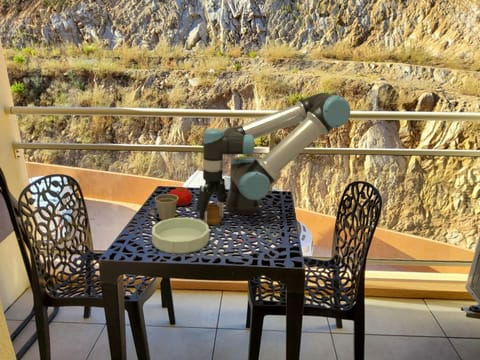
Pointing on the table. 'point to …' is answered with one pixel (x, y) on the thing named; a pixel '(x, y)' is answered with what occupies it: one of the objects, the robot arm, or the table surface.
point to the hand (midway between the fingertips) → (212, 221)
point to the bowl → (180, 235)
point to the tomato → (182, 196)
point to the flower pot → (166, 206)
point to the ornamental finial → (213, 214)
